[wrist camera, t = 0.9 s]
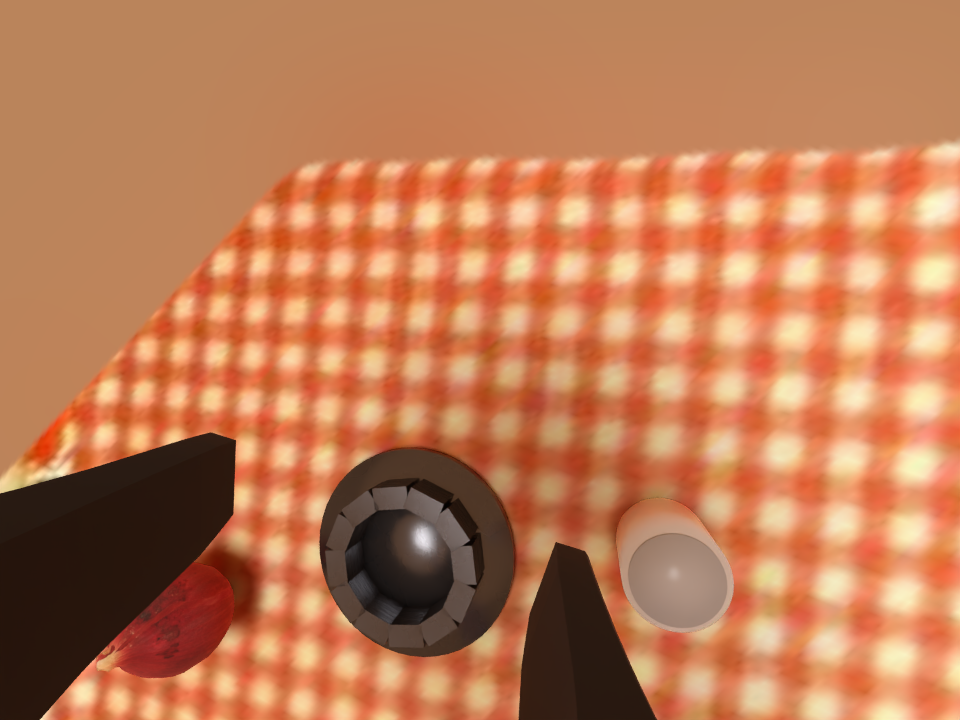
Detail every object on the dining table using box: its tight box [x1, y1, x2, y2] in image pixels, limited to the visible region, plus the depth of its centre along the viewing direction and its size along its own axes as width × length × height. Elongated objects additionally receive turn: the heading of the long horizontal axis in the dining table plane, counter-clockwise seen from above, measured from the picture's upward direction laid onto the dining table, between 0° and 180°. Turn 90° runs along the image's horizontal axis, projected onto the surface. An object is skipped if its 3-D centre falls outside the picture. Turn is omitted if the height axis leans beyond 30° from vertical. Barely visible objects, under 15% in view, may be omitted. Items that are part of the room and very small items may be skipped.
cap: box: [616, 498, 734, 633], centre depth 23 cm, size 5×5×5 cm
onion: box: [96, 562, 234, 678], centre depth 27 cm, size 6×6×8 cm
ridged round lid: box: [320, 448, 515, 657], centre depth 27 cm, size 12×12×3 cm
